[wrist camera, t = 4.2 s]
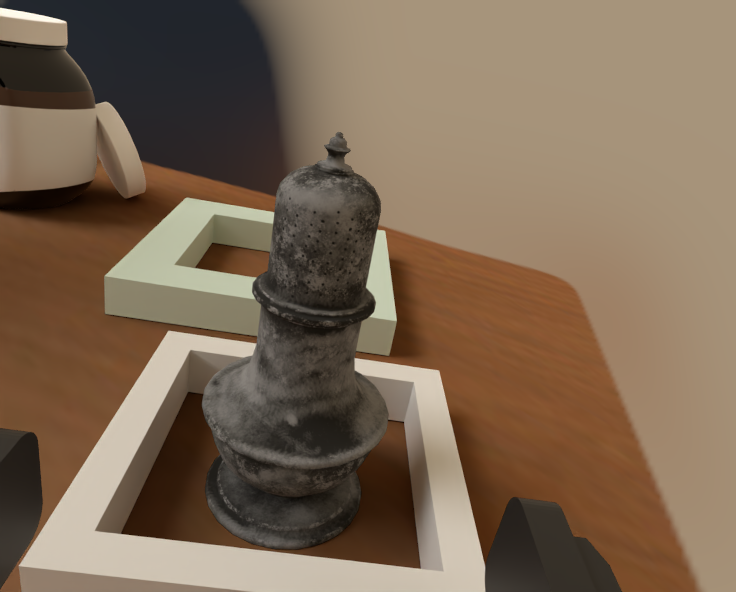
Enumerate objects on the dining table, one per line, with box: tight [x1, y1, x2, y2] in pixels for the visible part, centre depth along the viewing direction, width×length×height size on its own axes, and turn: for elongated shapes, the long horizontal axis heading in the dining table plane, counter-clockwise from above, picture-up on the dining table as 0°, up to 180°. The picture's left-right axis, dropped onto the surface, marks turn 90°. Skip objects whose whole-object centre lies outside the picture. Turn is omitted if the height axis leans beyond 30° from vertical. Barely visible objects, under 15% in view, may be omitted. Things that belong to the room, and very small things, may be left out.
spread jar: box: [0, 8, 146, 209], centre depth 39 cm, size 12×11×12 cm
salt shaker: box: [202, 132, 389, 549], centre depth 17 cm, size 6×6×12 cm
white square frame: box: [19, 331, 485, 592], centre depth 19 cm, size 11×11×2 cm
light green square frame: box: [104, 198, 397, 356], centre depth 34 cm, size 14×14×2 cm
